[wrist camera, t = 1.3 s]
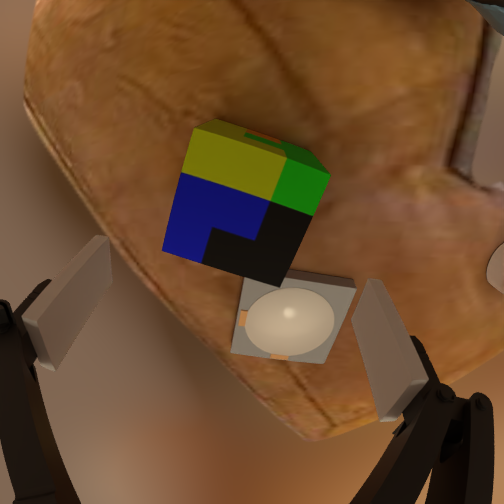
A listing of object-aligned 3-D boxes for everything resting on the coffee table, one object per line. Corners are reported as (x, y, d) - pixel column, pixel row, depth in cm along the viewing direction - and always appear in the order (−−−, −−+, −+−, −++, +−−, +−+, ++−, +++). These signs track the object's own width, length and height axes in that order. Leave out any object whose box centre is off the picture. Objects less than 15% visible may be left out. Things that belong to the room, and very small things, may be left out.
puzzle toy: (188, 207, 33) (161, 250, 24) (215, 118, 29) (194, 127, 20) (275, 236, 34) (279, 288, 26) (310, 151, 30) (331, 175, 21)
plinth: (246, 262, 36) (245, 272, 34) (352, 279, 36) (357, 289, 35) (231, 342, 42) (230, 354, 40) (321, 353, 43) (323, 365, 41)
